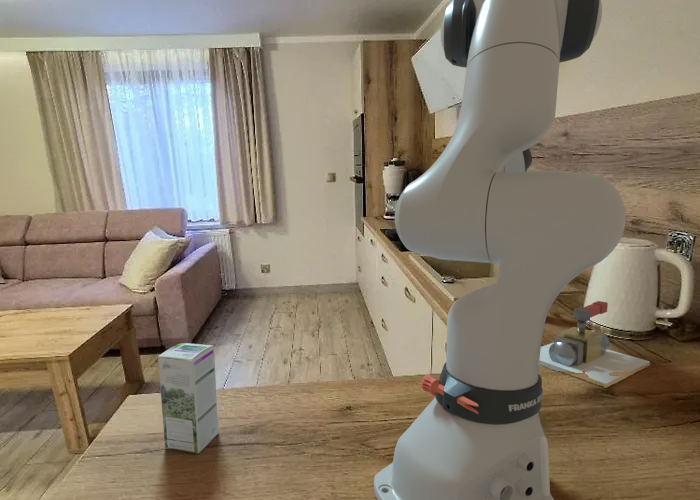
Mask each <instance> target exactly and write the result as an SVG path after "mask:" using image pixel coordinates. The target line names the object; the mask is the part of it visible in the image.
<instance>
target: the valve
mask: <svg viewBox="0 0 700 500" xmlns="http://www.w3.org/2000/svg"><path fill="white" fill-rule="evenodd" d="M586 322H587V321H580V320H576V326H573V327H570V328H567V329H563V330H561V331H559V336H556V337H554V339H553V340H554V341H553V343H554V344H552V345H551V346H550V348H549V356H550V358H551V360H552V361H553V362H556V363H559V364H562V365H565V366H570V365H576V366H578V365H581V364H582V362H583V363H589V362H591V361H593V360H596V359H598V358H600V356H602V355H604V354H605V351H606V350H607V349H608V350H609V346H610V339H609V337H608V335H607V334H606V333H605V332H603V331H602V330H599V329H591V330H589V329H586V324H587V323H586Z"/></svg>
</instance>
